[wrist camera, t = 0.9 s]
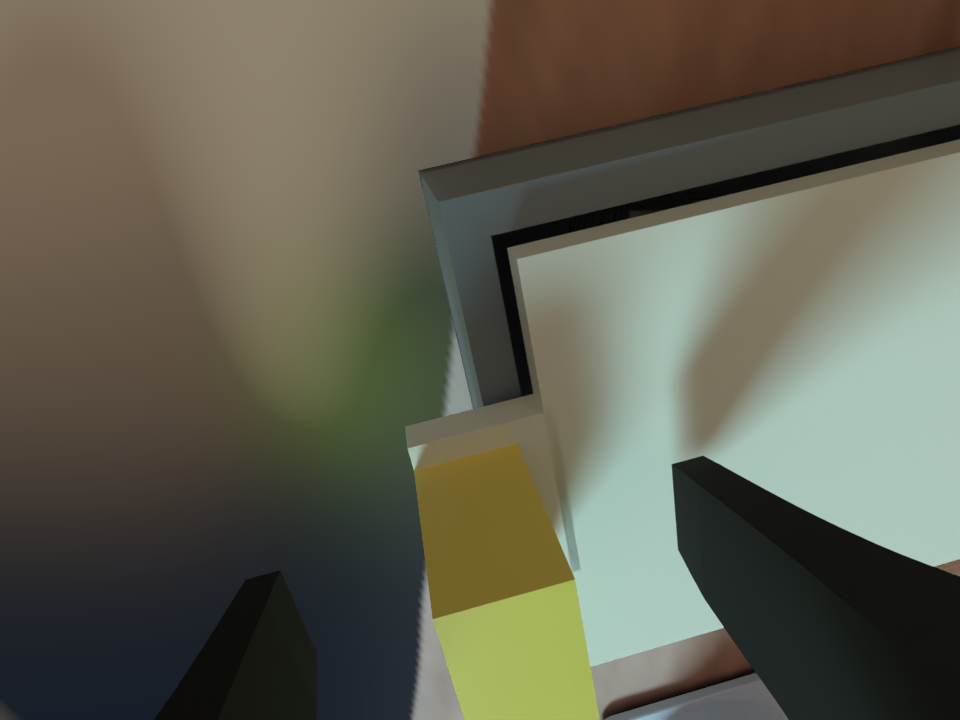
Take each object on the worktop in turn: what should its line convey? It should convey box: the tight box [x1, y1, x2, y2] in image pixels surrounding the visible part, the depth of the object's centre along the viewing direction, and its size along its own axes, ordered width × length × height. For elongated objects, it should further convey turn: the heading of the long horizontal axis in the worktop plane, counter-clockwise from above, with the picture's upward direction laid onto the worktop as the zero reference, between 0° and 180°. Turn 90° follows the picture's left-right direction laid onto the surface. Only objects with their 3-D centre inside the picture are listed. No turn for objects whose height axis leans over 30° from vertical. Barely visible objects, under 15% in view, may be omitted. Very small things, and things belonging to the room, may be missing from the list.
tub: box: [419, 47, 960, 409], centre depth 16 cm, size 12×16×4 cm
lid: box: [405, 139, 960, 720], centre depth 12 cm, size 10×17×4 cm, turn 101°
